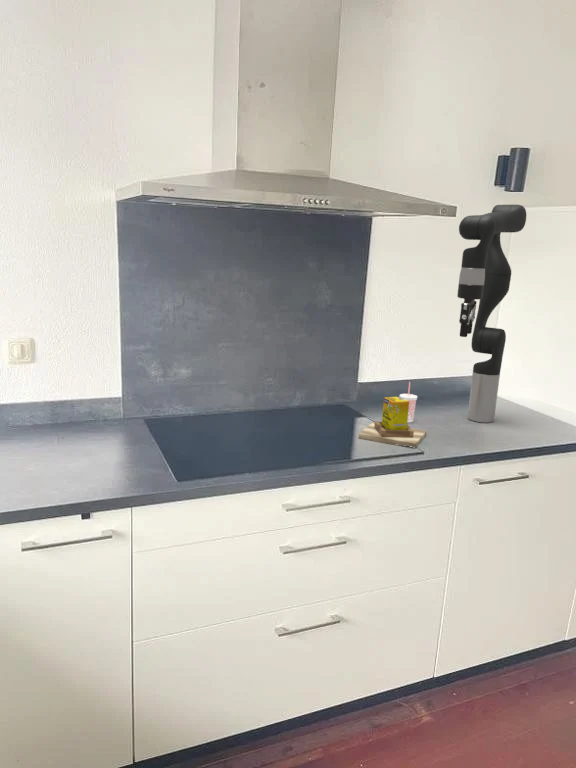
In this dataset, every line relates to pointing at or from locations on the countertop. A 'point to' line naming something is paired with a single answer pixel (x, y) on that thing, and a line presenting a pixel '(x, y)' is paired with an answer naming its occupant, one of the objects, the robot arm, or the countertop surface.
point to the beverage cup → (410, 403)
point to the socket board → (392, 440)
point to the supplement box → (395, 413)
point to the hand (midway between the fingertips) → (465, 335)
